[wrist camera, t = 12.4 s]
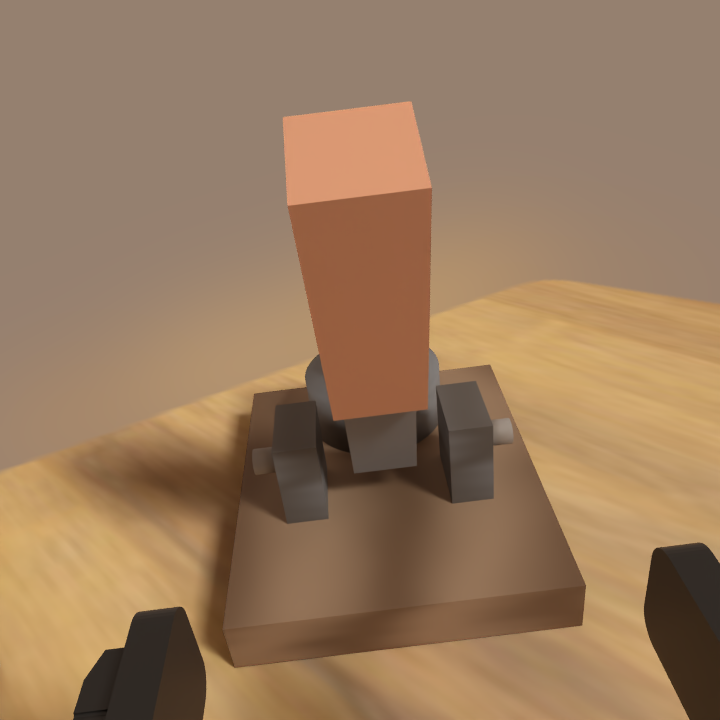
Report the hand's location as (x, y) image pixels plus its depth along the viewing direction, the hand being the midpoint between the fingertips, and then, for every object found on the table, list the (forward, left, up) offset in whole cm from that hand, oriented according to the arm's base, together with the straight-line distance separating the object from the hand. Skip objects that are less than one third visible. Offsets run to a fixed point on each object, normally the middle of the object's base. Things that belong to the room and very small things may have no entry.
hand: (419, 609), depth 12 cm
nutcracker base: (0, +14, -11) cm, 18 cm away
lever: (0, +13, -7) cm, 15 cm away
